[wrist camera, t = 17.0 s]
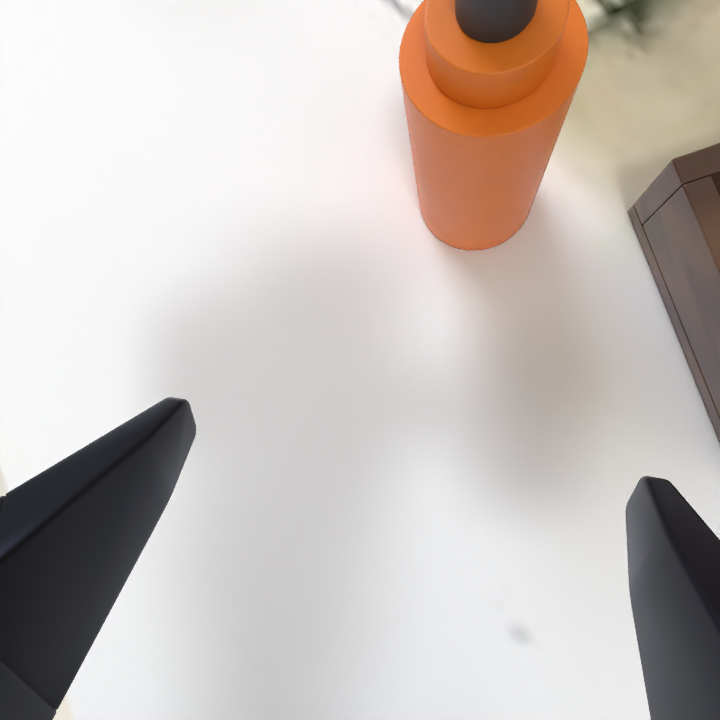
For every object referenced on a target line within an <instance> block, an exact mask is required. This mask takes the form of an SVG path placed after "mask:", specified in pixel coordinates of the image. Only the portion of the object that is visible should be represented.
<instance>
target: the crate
mask: <svg viewBox="0 0 720 720" xmlns="http://www.w3.org/2000/svg"><path fill="white" fill-rule="evenodd" d="M628 214H629V216H630V218H631V221H632V223H633V226H634V228H635V231H636V233H637V236H638V238H639V241H640V243H641V246H642V248H643V251H644V253H645V256H646V258H647V261H648V263H649V266H650V268H651V271H652V273H653V276H654V278H655V281H656V283H657V286H658V288H659V291H660V293H661V296H662V298H663V301H664V303H665V306H666V308H667V311H668V313H669V316H670V318H671V321H672V323H673V326H674V328H675V331H676V333H677V336H678V338H679V341H680V343H681V346H682V348H683V351H684V353H685V356H686V358H687V361H688V363H689V366H690V368H691V371H692V373H693V376H694V378H695V381H696V383H697V386H698V388H699V391H700V393H701V396H702V398H703V401H704V403H705V406H706V408H707V411H708V413H709V416H710V418H711V421H712V423H713V426H714V428H715V431H716V433H717V436H718V438H719V441H720V143H718V144H715V145H713V146H710V147H707V148H704V149H701V150H698V151H695V152H692V153H690V154H687V155H684V156H681V157H678V158H675V159H673V160H672V161H671V162H670V163H669V164H668V165H667V166H666V168H665V169H664V170H663V171H662V172H661V173H660V175H659V176H658V177H657V178H656V179H655V180H654V182H653V183H652V184H651V185H650V186H649V187H648V188H647V190H646V191H645V192H644V193H643V194H642V195H641V197H640V198H639V199H638V200H637V201H636V202H635V204H634V205H633V206H632V207H631V208H630V209H629V211H628Z"/></svg>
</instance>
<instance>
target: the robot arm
mask: <svg viewBox="0 0 720 720" xmlns="http://www.w3.org/2000/svg"><path fill="white" fill-rule="evenodd" d="M195 435H196V424H195V421H194V417H193V414H192V411H191V407H190V404H189V402H188V401H187V400H185V399H179V398H173V397H169V398H166V399H164V400H162V401H160V402H159V403H157V404H155V405H154V406H152V407H150V408H149V409H147V410H145V411H144V412H142V413H140V414H139V415H137V416H135V417H134V418H132V419H130V420H129V421H127V422H125V423H124V424H122V425H120V426H119V427H117V428H115V429H114V430H112V431H110V432H109V433H107V434H105V435H104V436H102V437H100V438H99V439H97V440H95V441H94V442H92V443H90V444H89V445H87V446H85V447H84V448H82V449H80V450H78V451H77V452H75V453H73V454H72V455H70V456H68V457H67V458H65V459H63V460H62V461H60V462H58V463H57V464H55V465H53V466H52V467H50V468H48V469H47V470H45V471H43V472H42V473H40V474H38V475H37V476H35V477H33V478H32V479H30V480H28V481H27V482H25V483H23V484H22V485H20V486H18V487H17V488H15V489H13V490H12V491H10V492H8V493H7V494H6V496H1V497H0V720H52V719H53V718H54V716H55V714H56V710H57V709H58V708H59V706H60V704H61V702H62V700H63V698H64V697H65V695H66V693H67V691H68V689H69V687H70V685H71V683H72V682H73V680H74V678H75V676H76V674H77V672H78V670H79V668H80V667H81V665H82V663H83V661H84V659H85V657H86V655H87V653H88V652H89V650H90V648H91V646H92V644H93V642H94V640H95V638H96V637H97V635H98V633H99V631H100V629H101V627H102V625H103V623H104V622H105V620H106V618H107V616H108V614H109V612H110V610H111V609H112V607H113V605H114V603H115V601H116V599H117V597H118V595H119V594H120V592H121V590H122V588H123V586H124V584H125V582H126V580H127V579H128V577H129V575H130V573H131V571H132V569H133V567H134V565H135V564H136V562H137V560H138V558H139V556H140V554H141V552H142V550H143V549H144V547H145V545H146V543H147V541H148V539H149V537H150V536H151V534H152V532H153V530H154V528H155V526H156V524H157V522H158V521H159V519H160V517H161V515H162V513H163V511H164V509H165V507H166V505H167V503H168V501H169V499H170V497H171V495H172V493H173V490H174V488H175V485H176V483H177V480H178V478H179V475H180V473H181V470H182V468H183V465H184V463H185V460H186V458H187V455H188V453H189V451H190V448H191V446H192V443H193V441H194V438H195ZM626 532H627V552H628V573H629V589H630V598H631V605H632V611H633V617H634V623H635V629H636V635H637V641H638V646H639V652H640V658H641V664H642V670H643V676H644V682H645V687H646V693H647V699H648V705H649V711H650V717H651V720H720V540H719V539H718V537H717V536H716V535H715V534H714V533H713V532H712V530H711V529H710V528H709V527H708V526H707V525H706V523H705V522H704V521H703V520H702V519H701V517H700V516H699V515H698V514H697V513H696V512H695V510H694V509H693V508H692V507H691V506H690V505H689V503H688V502H687V501H686V500H685V499H684V497H683V496H682V495H681V494H680V493H679V492H678V490H677V489H676V488H675V487H674V486H673V484H672V483H671V482H669V481H668V480H666V479H662V478H655V477H649V476H644V477H642V478H641V479H640V480H639V482H638V484H637V486H636V488H635V490H634V491H633V493H632V495H631V497H630V499H629V501H628V503H627V506H626Z"/></svg>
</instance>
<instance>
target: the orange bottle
mask: <svg viewBox="0 0 720 720" xmlns="http://www.w3.org/2000/svg"><path fill="white" fill-rule="evenodd" d="M587 55H588V31H587V27H586V23H585V19H584V16H583V14H582V11H581V9H580V7H579V6H578V4H577V2H576V1H575V0H424V1H423V2H422V3H421V4H420V5H419V7H418V8H417V10H416V11H415V12H414V14H413V15H412V17H411V19H410V21H409V23H408V25H407V27H406V29H405V32H404V35H403V38H402V42H401V46H400V54H399V69H400V76H401V83H402V90H403V96H404V103H405V110H406V116H407V123H408V130H409V136H410V143H411V150H412V156H413V163H414V170H415V176H416V183H417V190H418V197H419V203H420V209H421V214H422V217H423V219H424V221H425V223H426V225H427V227H428V228H429V230H430V231H431V232H432V233H433V234H434V235H435V236H436V237H437V238H438V239H440V240H441V241H443V242H444V243H446V244H448V245H450V246H452V247H455V248H459V249H464V250H483V249H488V248H491V247H494V246H497V245H499V244H501V243H503V242H505V241H506V240H508V239H509V238H510V237H512V236H513V235H514V234H515V233H516V232H517V231H518V230H519V229H520V228H521V226H522V225H523V223H524V222H525V220H526V218H527V216H528V214H529V211H530V209H531V206H532V204H533V201H534V198H535V196H536V193H537V190H538V188H539V185H540V183H541V180H542V177H543V175H544V172H545V170H546V167H547V164H548V162H549V159H550V157H551V154H552V151H553V149H554V146H555V143H556V141H557V138H558V136H559V133H560V130H561V128H562V125H563V123H564V120H565V117H566V115H567V112H568V109H569V107H570V104H571V102H572V99H573V96H574V94H575V91H576V89H577V86H578V83H579V81H580V78H581V75H582V73H583V70H584V67H585V64H586V59H587Z"/></svg>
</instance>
